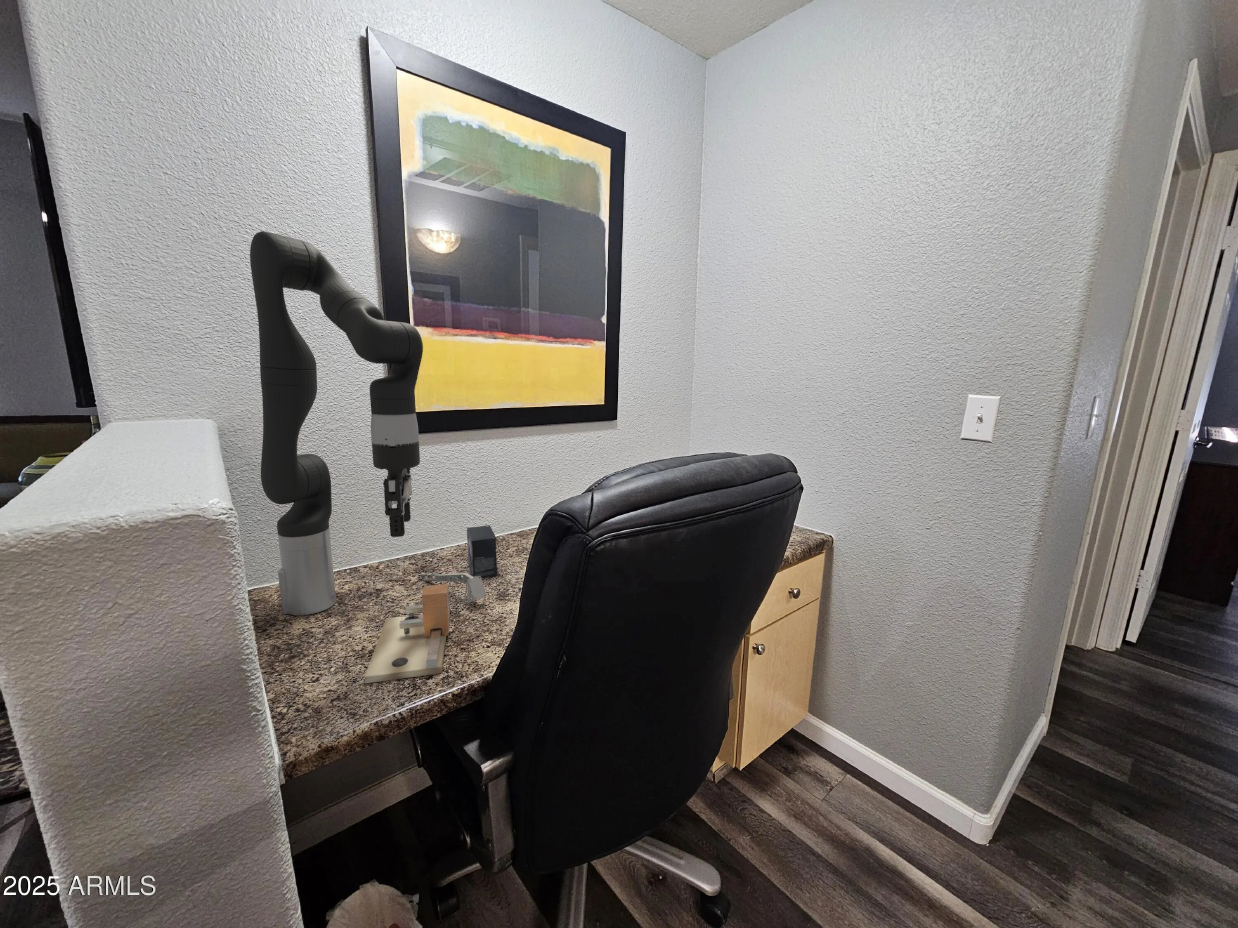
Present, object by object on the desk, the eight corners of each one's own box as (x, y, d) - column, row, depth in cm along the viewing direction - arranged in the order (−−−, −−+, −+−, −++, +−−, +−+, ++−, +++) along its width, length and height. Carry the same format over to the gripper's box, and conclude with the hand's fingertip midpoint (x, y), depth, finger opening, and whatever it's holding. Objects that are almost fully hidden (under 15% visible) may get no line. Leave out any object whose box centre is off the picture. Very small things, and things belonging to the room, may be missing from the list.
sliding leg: (399, 640, 91) (396, 597, 89) (402, 629, 95) (399, 588, 93) (448, 634, 93) (446, 592, 92) (450, 624, 97) (448, 583, 95)
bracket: (475, 601, 106) (461, 557, 107) (427, 614, 119) (415, 575, 120) (487, 596, 108) (473, 553, 109) (439, 609, 121) (427, 571, 122)
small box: (467, 564, 131) (465, 526, 129) (491, 560, 133) (490, 524, 131) (471, 579, 121) (470, 539, 119) (498, 575, 124) (497, 536, 122)
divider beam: (391, 673, 82) (390, 657, 81) (407, 615, 100) (407, 602, 100) (441, 666, 84) (440, 650, 83) (448, 611, 103) (447, 598, 102)
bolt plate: (364, 683, 81) (364, 676, 80) (386, 623, 100) (386, 617, 99) (441, 672, 84) (441, 666, 84) (448, 616, 103) (448, 611, 103)
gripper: (379, 434, 90) (385, 518, 93) (363, 446, 77) (370, 543, 80) (422, 434, 92) (426, 516, 95) (414, 445, 79) (419, 540, 82)
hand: (401, 528), depth 88 cm, fingers open, 8 cm apart
